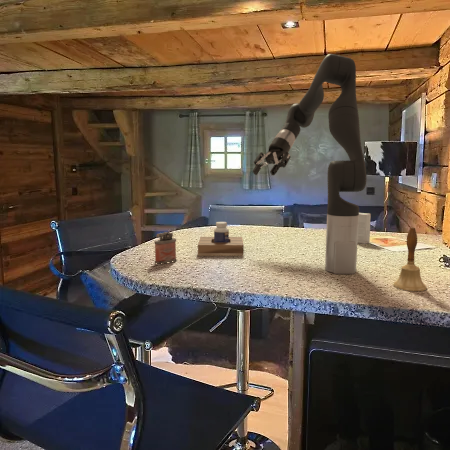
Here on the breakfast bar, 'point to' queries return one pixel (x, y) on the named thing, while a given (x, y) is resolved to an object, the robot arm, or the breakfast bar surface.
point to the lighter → (165, 248)
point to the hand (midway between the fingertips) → (263, 173)
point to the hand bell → (410, 268)
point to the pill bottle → (221, 233)
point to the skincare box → (364, 228)
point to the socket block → (220, 247)
